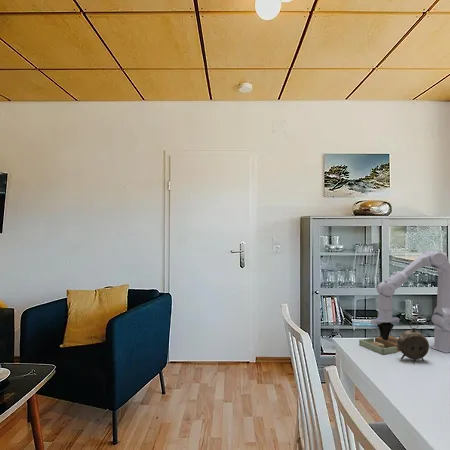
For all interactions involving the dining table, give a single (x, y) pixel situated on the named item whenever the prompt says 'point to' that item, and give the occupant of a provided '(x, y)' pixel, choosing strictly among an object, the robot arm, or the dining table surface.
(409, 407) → the dining table surface
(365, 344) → the sage tray
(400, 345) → the alarm clock
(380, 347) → the maple tile
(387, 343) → the walnut board
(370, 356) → the dining table surface
